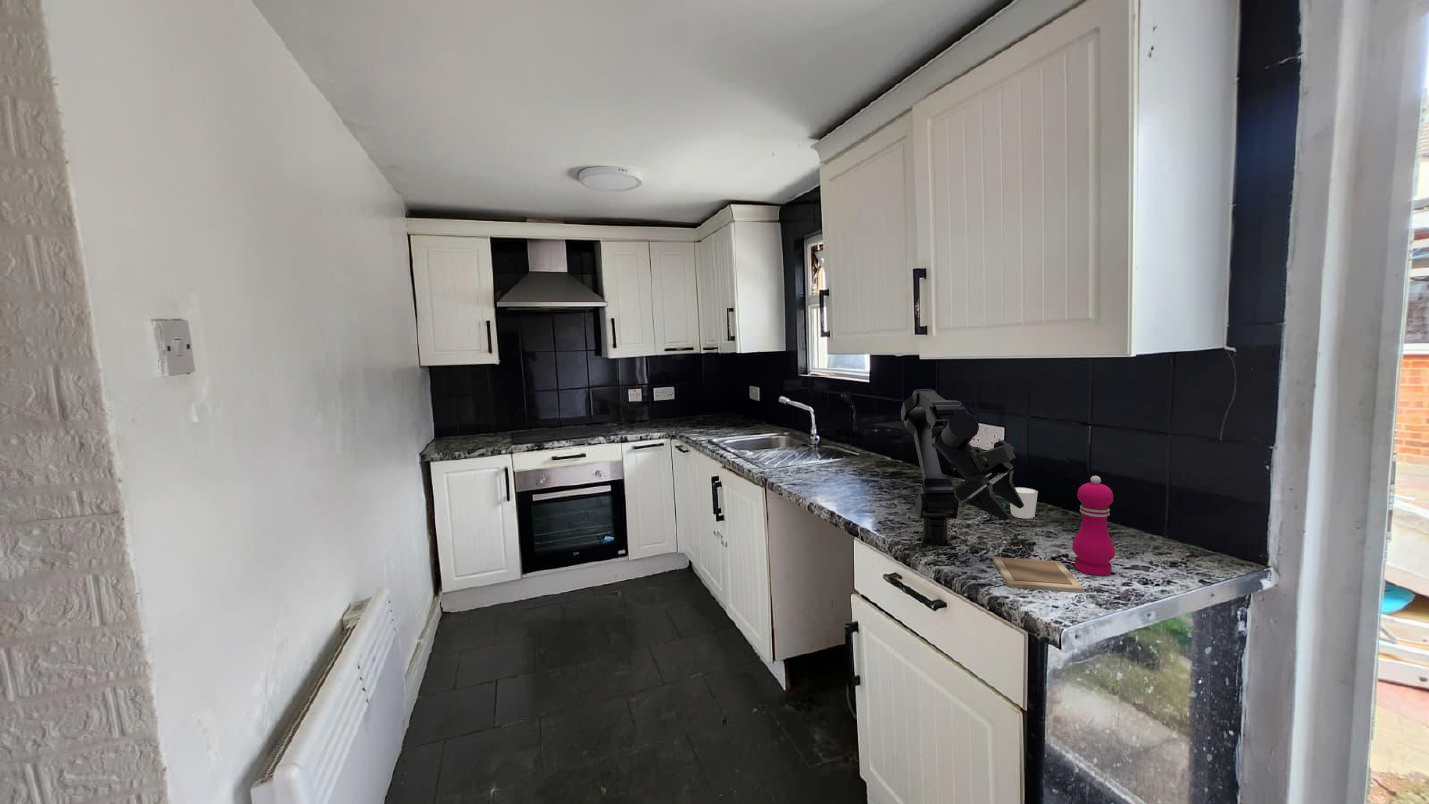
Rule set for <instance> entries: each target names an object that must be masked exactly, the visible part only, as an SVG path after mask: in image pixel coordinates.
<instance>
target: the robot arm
mask: <svg viewBox="0 0 1429 804" xmlns="http://www.w3.org/2000/svg"><path fill="white" fill-rule="evenodd" d="M900 418H901V421H903V423H904V428H905V429H906V430H907V431H908V432H909V433H910V434H911V435H912V436H913V439H914V443H915V448H916V453H917V457H918V462H919V468H920V472H921V477H922V484H921V486H920V490H919V493H918V495H917V497H916V500H915V504H914V510H915V514H916V516H917V517H918V519H922V532H920V533H919V535H920V539H921V542H922V544H923V545H936V546H937V545H938V546H952V541H951V538H950V536H949V519H955V520H956V519H957V517H958V512H959V505H960V503H962V502H964V501H965V502H964V503H965V504H966V505H970V506H973V507H975V508H978V509H980V510H982V511H984V512H986V513H988V514H990V515H992V516H994V517H996V518H998V519H1001V520H1002V521H1007V520H1009V519H1010V516H1009V515H1008V513H1007V511H1006V510H1005V509H1004V507H1003V505H1001V503H1000V502H999V500H998V499H997V498H996V496H995V495H997V496H999V497H1001V498H1002V499H1004V500H1006V501H1007V502H1008V503H1009V504H1010V503H1011V504H1013V505H1014V506H1016V507H1018V508H1019V509H1021V508H1022V507H1024V504H1023V502H1022V500H1021V498H1020V496H1019V494H1018V493H1017V491H1016V489H1015V487H1016V486H1015V485H1014V483H1013V474H1014V470H1013V468H1014V466H1013V464H1012V463H1011V461H1012V460H1014V459H1016V455H1015V453H1014V450H1015V447H1014V446H1013V445H1011V443H1008V442H1007V441H1005V439H1001V440H998V441H996V442H993V448H990V449H986V450H983V448H981V447H980V446H979V447H978V446H976V447H973V445H972V444H971V443H970V442H971V441H973V439H974V438H975V437H976V436H977V434H978V432H979V430H980V423H979V422H978V420H977V419H976V418H975V417H974V416H973V415H971V414H970V413H969V411H968V410H967V408H966V407H965V406H964V405H963V403H962V402H961V401H958V400H949V399H948V400H946V399H944V398H943V397H942V396H940V395H939V394H938V393H937V392H936V390H935V389H932V388H925V389H923V388H921V389H920V388H919V389H916V390H913V393H912V395H911V396H909V397H908V398H907V399H905V400H904V401H903V403H902V406H901V410H900ZM933 428H942V429H941V430H939V431H936V432H935V433H933V431H932V429H933ZM937 450H938V451H939V452H940V453H941V454H942V456H943V457H945V459H946V460H947V461H948V462H949V463H950V466H949V469H950V470H951V472H952V471H955V470H956V471H957V472H958V473H959V475H960V476H962V478H964V480H963V481H962V482H961V483H960V484H958V485H957V486H956V487H954V486H953V481H952V479H951V478H950V477H945V476H944V475H943V472H942V468H941V464H940V459H939V456H938V452H937ZM1010 470H1011V471H1010ZM993 493H995V495H994V494H993ZM968 498H969V499H968Z"/></svg>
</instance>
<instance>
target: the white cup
mask: <svg viewBox="0 0 1429 804" xmlns="http://www.w3.org/2000/svg"><path fill="white" fill-rule="evenodd" d="M1014 487H1015V489H1016V491H1017V493H1018V494H1019V496H1020V498H1021V500H1022V502H1023V504H1024V507H1022V508H1021V509H1019V508H1018V507H1016V506H1014V505H1013V504H1011V503H1010V502H1009V506H1010V515H1011V514H1012V515H1013V516H1012V515H1011V516H1012V517H1015V518H1019V519H1027V520H1028V519H1034V518H1035V516H1036V509H1037V500H1038V494H1039V491H1038V490H1036V489H1034V488H1028V487H1023V486H1022V487H1021V486H1020V487H1019V486H1018V487H1016V486H1014ZM1033 517H1034V518H1033Z"/></svg>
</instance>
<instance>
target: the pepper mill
mask: <svg viewBox="0 0 1429 804" xmlns="http://www.w3.org/2000/svg"><path fill="white" fill-rule="evenodd" d="M1101 479H1102V478H1101V477H1100V476H1098V475H1092V476H1091V477H1090V482H1087V483H1084V484H1082V485H1081V486H1080V487H1079V488H1078V490H1077V499H1078V501H1079V502H1080V503H1081V504H1080V505H1079V507H1080V509H1079V512H1080V513H1081V516H1082V517H1081V525H1080V527H1079V529H1078V532H1077V533H1076V535H1075V536H1074V539H1073V542H1072V546H1071V547H1072V548H1071V549H1072V552H1074V554H1075V555H1076V557H1075V558H1074V568H1075V569H1076V571H1079V572H1081V573H1084V574H1087V575H1091V576H1097V577H1098V576H1099V577H1104V576H1105V577H1106V576H1109V575H1111V574H1112V566H1113V565H1112V564H1111V562H1110V561H1112V560H1113V559H1114V558H1115V556H1116V548H1115V544H1114V542H1113V539H1112V538H1111V537H1112V536H1110V533H1109V530H1108V525H1107V520H1108V516H1110V515H1111V514H1110V511H1111V509H1110V506H1111V505H1112V504H1113V502H1114V494H1113V491H1112V489H1111V488H1110V487H1109V486H1107V485H1105V484H1103V483H1101V482H1102V480H1101Z"/></svg>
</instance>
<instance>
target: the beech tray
mask: <svg viewBox="0 0 1429 804" xmlns="http://www.w3.org/2000/svg"><path fill="white" fill-rule="evenodd" d="M992 562H993V564H994V565H995V568H996V569H997V570H998V572H999V574H1000V575H1001V577H1002V579H1003V580H1004V583H1005V584H1006V586H1007V587H1008V588H1013V589H1014V588H1016V589H1026V590H1027V589H1028V590H1038V591H1039V590H1041V591H1055V592H1068V593H1082V594H1085V588H1084V587H1083V585H1081V583H1080V582H1079V581H1078V580H1077V579H1076V578H1075V576H1074V575H1073V574H1072V572H1070V571H1069V570H1068V568H1067V567H1066V566H1065V565H1064V564H1063V563H1062V562H1061V561H1060V560H1045V559H1030V558H1027V559H1026V558H1012V557H999V556H997V557H995V556H993V557H992Z"/></svg>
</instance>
